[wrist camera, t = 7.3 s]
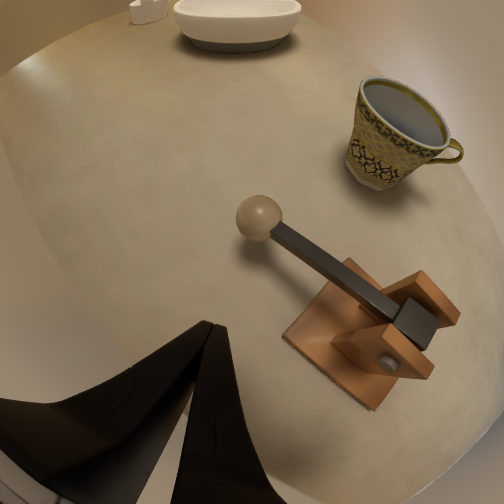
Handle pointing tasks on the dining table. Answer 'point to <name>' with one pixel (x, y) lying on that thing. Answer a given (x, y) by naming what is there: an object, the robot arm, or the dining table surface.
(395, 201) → the dining table surface
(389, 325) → the bracket
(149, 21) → the cylinder with rectangular tab
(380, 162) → the ceramic cup
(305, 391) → the dining table surface
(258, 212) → the lever
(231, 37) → the bowl
